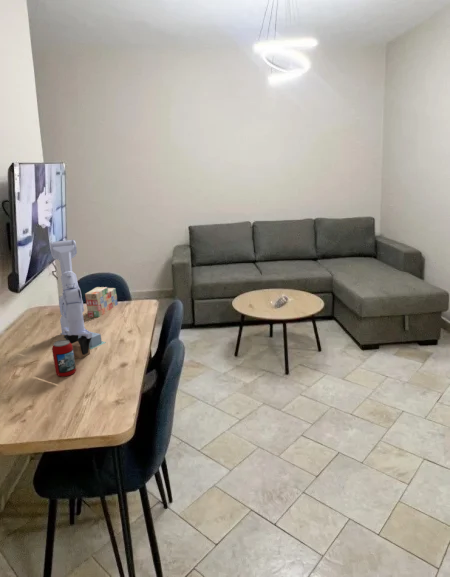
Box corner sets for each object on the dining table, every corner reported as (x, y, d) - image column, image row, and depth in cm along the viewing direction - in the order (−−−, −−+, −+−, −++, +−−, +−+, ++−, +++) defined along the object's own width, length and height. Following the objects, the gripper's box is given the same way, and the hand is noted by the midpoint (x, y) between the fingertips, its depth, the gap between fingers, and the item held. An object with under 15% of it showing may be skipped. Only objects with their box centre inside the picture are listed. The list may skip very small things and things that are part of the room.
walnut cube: (71, 356, 168) (69, 344, 167) (81, 351, 172) (79, 340, 171) (79, 358, 166) (78, 346, 164) (90, 354, 170) (88, 342, 168)
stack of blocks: (107, 304, 238) (104, 282, 234) (117, 304, 236) (115, 282, 233) (88, 317, 217) (84, 293, 214) (99, 317, 216) (96, 293, 213)
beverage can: (64, 379, 150) (59, 347, 147) (52, 375, 154) (47, 344, 150) (80, 372, 155) (75, 340, 152) (68, 368, 159) (63, 337, 156)
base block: (76, 343, 182) (74, 334, 180) (85, 339, 186) (84, 330, 184) (92, 347, 176) (91, 338, 175) (101, 343, 180) (100, 334, 179)
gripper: (54, 319, 166) (59, 352, 169) (79, 325, 158) (84, 359, 162) (69, 314, 172) (74, 346, 175) (94, 319, 164) (99, 352, 167)
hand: (80, 352), depth 169 cm, fingers open, 5 cm apart
